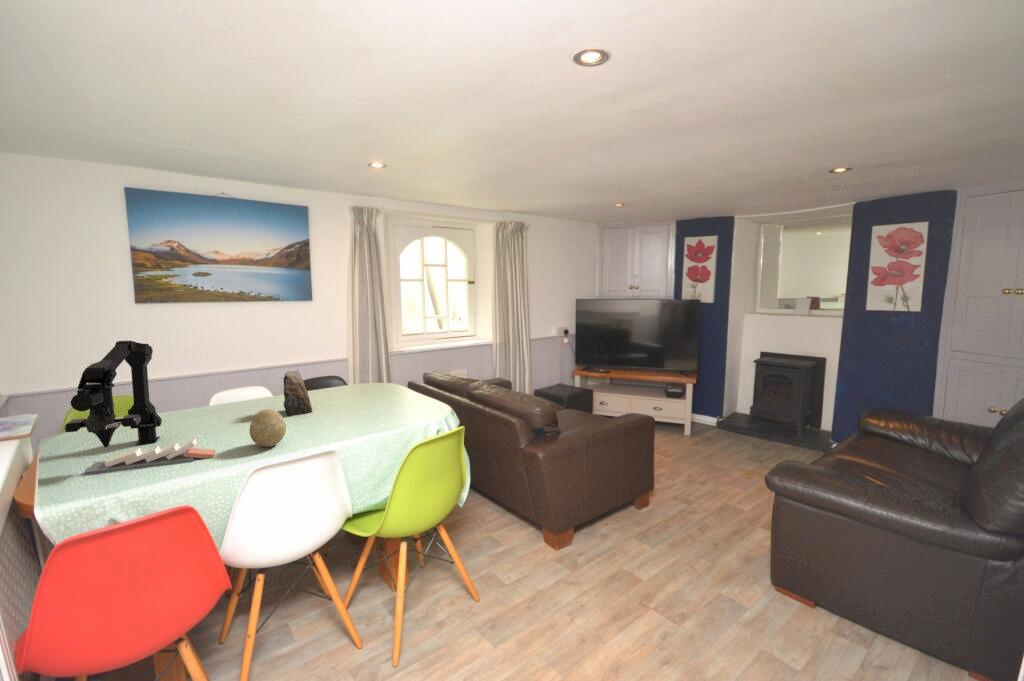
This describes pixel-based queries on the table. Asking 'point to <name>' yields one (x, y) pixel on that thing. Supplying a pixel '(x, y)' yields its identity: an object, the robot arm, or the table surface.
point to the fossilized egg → (267, 428)
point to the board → (137, 464)
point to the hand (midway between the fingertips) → (106, 446)
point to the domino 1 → (122, 457)
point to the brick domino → (199, 453)
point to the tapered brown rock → (295, 395)
